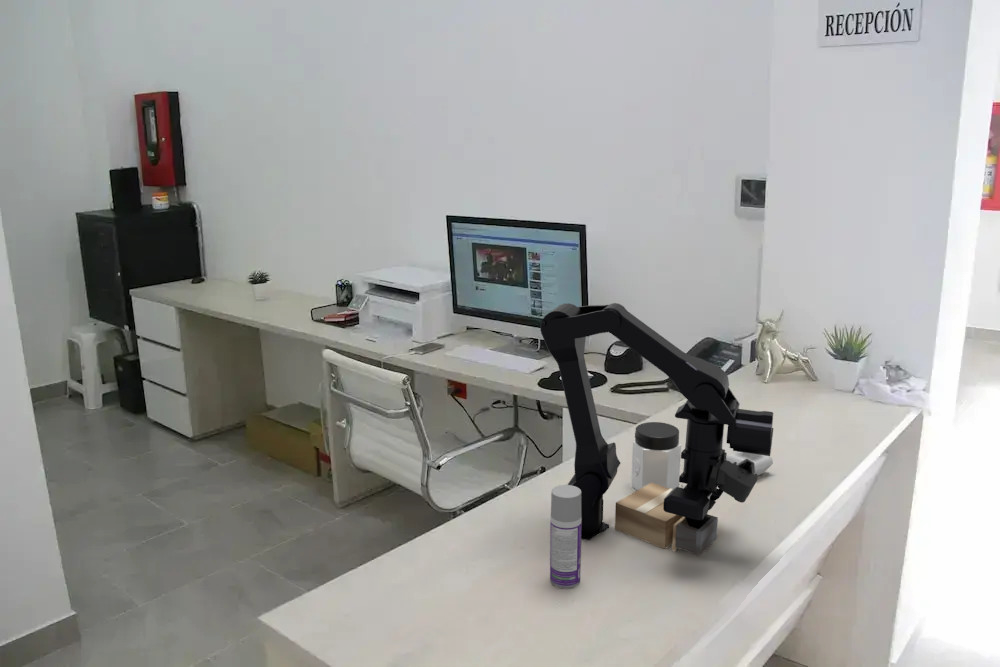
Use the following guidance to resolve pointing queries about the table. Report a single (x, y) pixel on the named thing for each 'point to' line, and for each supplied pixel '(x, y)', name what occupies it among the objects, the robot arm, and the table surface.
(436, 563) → the table surface
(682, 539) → the flap
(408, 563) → the table surface
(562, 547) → the container
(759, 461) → the stamp
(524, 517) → the table surface
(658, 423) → the jar
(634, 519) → the carton
